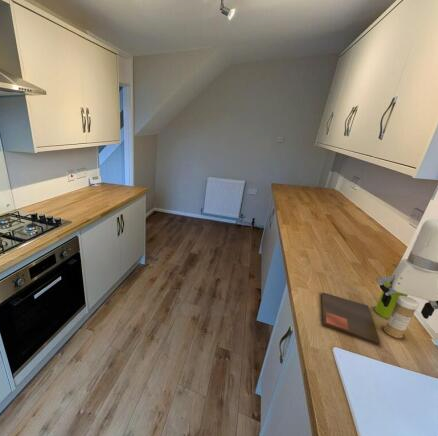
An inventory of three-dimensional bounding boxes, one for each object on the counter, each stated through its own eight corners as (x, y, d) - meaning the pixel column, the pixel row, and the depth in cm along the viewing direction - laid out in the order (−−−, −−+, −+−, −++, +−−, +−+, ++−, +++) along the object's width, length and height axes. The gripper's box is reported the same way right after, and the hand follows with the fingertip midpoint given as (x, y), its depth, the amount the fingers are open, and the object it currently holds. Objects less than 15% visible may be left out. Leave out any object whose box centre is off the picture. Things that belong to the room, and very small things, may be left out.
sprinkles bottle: (386, 325, 81) (401, 293, 76) (404, 335, 77) (421, 301, 72) (381, 331, 79) (396, 297, 74) (399, 341, 75) (416, 306, 70)
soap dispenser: (399, 323, 82) (423, 274, 75) (373, 312, 87) (393, 265, 80) (402, 315, 85) (425, 267, 78) (376, 305, 90) (395, 259, 83)
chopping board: (321, 294, 96) (322, 291, 96) (367, 308, 89) (368, 305, 88) (323, 325, 80) (324, 322, 80) (378, 345, 73) (379, 342, 73)
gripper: (466, 265, 67) (439, 314, 73) (383, 248, 76) (365, 293, 82) (480, 278, 61) (450, 330, 67) (388, 258, 70) (369, 305, 76)
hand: (403, 309), depth 74 cm, fingers open, 8 cm apart
